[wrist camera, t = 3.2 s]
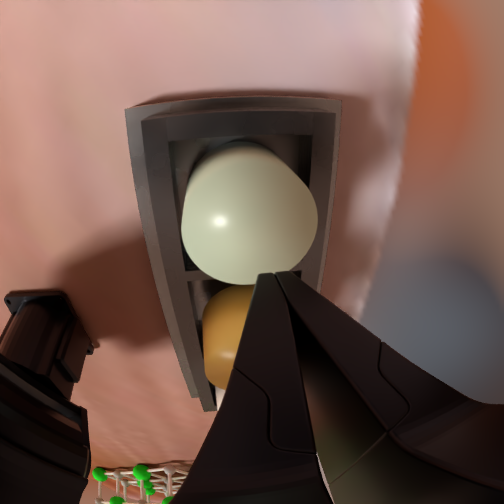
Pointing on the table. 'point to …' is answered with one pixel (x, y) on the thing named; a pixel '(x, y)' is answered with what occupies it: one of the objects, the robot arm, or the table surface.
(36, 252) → the table surface
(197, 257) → the sage button
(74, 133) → the table surface
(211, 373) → the amber button
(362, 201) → the table surface
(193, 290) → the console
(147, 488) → the molecular structure model
